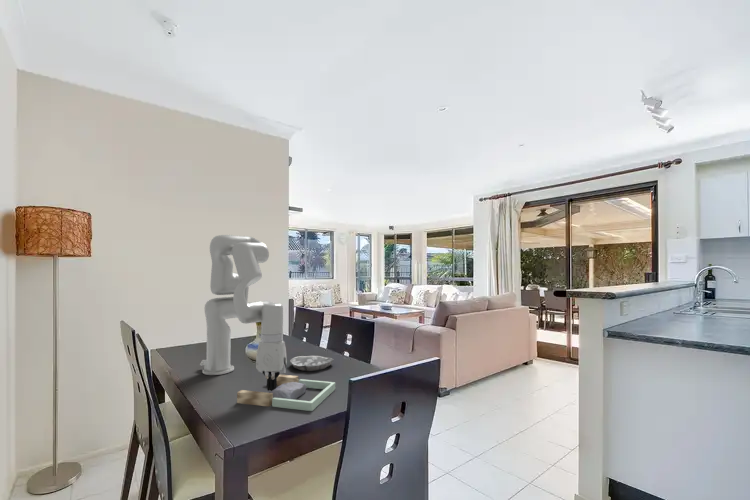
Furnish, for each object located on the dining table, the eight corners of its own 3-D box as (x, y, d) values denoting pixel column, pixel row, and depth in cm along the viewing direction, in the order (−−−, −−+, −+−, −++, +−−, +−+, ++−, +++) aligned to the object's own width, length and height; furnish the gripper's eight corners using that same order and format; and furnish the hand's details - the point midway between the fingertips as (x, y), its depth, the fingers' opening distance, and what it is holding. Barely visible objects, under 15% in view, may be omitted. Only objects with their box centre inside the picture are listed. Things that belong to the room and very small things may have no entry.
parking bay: (272, 406, 118) (272, 398, 118) (300, 385, 137) (300, 379, 137) (312, 411, 114) (312, 403, 114) (335, 389, 133) (335, 382, 133)
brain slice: (282, 372, 155) (282, 365, 155) (297, 361, 172) (297, 355, 172) (326, 374, 152) (326, 367, 152) (336, 363, 169) (336, 356, 169)
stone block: (266, 406, 122) (292, 403, 120) (264, 392, 123) (289, 389, 120) (284, 395, 134) (308, 392, 131) (283, 382, 134) (306, 379, 131)
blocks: (237, 402, 121) (237, 392, 121) (270, 382, 141) (270, 373, 141) (268, 406, 118) (268, 395, 118) (298, 385, 138) (298, 376, 138)
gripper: (247, 339, 128) (247, 391, 127) (285, 341, 124) (285, 395, 123) (259, 334, 135) (259, 384, 135) (295, 337, 131) (295, 387, 131)
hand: (271, 389), depth 129 cm, fingers closed
